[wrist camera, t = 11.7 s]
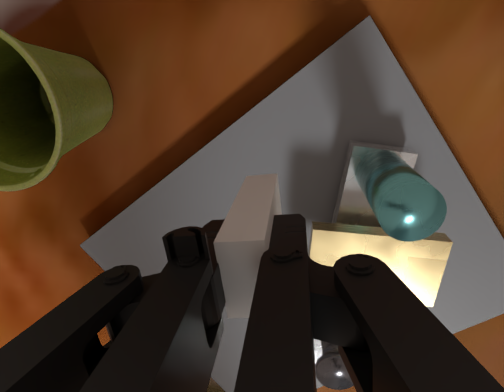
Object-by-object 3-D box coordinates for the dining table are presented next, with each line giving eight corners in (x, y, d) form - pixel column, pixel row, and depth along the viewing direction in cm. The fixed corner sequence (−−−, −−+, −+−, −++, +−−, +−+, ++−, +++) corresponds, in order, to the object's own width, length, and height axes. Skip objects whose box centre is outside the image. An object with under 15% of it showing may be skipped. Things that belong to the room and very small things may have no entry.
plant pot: (142, 157, 27) (76, 196, 19) (38, 153, 28) (-66, 188, 20) (125, 30, 23) (36, 11, 15) (8, 32, 24) (-134, 15, 16)
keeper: (411, 270, 26) (432, 307, 22) (304, 259, 26) (305, 292, 23) (426, 213, 24) (452, 242, 20) (310, 203, 25) (312, 229, 21)
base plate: (526, 286, 26) (539, 298, 25) (251, 402, 36) (249, 415, 34) (364, 18, 21) (369, 15, 20) (89, 237, 30) (79, 245, 29)
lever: (353, 355, 29) (373, 453, 22) (298, 345, 29) (299, 438, 22) (417, 149, 22) (479, 191, 14) (342, 139, 22) (365, 175, 15)
